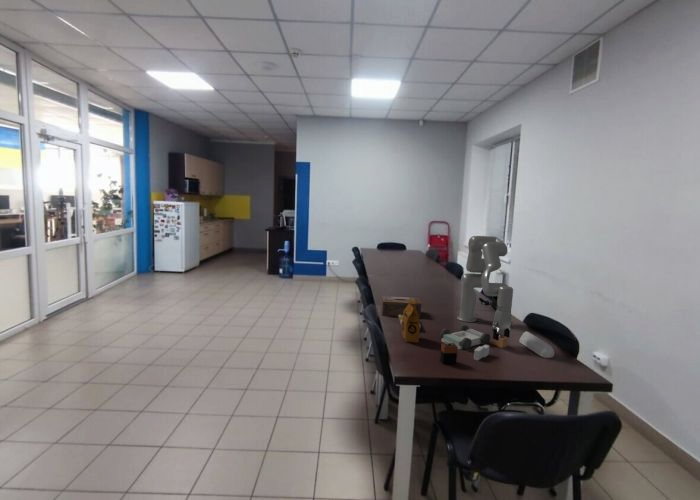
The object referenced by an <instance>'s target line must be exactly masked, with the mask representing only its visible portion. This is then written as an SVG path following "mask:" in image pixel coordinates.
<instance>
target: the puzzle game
mask: <svg viewBox="0 0 700 500" xmlns="http://www.w3.org/2000/svg"><path fill="white" fill-rule="evenodd" d="M397 317H398V319H399V324H400V327H401V328H402V320H403V315H398V316H397ZM421 328H422V325H421V324H420V330H421Z"/></svg>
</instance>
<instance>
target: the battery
mask: <svg viewBox="0 0 700 500" xmlns="http://www.w3.org/2000/svg"><path fill="white" fill-rule="evenodd" d="M440 348H441V349H440V357H439V358H440V359H439V361H440V362H441V363H442V365H456V364H457V359H458V350H459V349H458V347H457V345H455V343H448V342H445V343H444V342H442V343H441V347H440Z"/></svg>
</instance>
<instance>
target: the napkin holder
mask: <svg viewBox="0 0 700 500" xmlns="http://www.w3.org/2000/svg"><path fill="white" fill-rule="evenodd" d="M489 354H490V345H489V344H483V345H482V346H480V345H479V346H478V347H476V348H475V349H474V351H473V360H474V361H475V360H476V361H479V360H481V359H482V358H487V357H488V356H489Z"/></svg>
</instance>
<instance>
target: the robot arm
mask: <svg viewBox="0 0 700 500" xmlns="http://www.w3.org/2000/svg"><path fill="white" fill-rule="evenodd" d="M467 243H468V244H467V245H468V255H467V259H466V264H465V267H466V271H467V272H468V273H467V272H466V273H464V274H462V275H461V279H460V283H461V294H460V306H459V315H457V316H456V319H457V320H459V321H461V322H467V323H474V322H475V323H476V321H477V316H479V312H475V311H476V302H477V301H476V300H477V294H476V291H475V289H476V288H477V289H478V288H479V289H482V291H483V294H484V295H485V296H487V297H493V296H498V299H497V310H495V313H494V316H493V322H492V325H491V329H492V330H491V331H492V334H493V335H492V340H493V339H494V340H497V341H498V340H499V334H500V333H499V332H501V330H503V336H504V337H507V338H508V339H509V338H510V334H511V333H510V332H511V328H512V326H513V324H514V323H513V321H512V306H513V298H514V297H513V296H514V288H513V287H511V286H510V285H508V284H507V283H504V282H503V283H501V282H490V277H491V273H492V272H495V271H498V270H499V269H501V267H502V263H501V258H500V257H505V256H507V254H508V250H509V249H508V246H507V244H506V243H505V242H504V241H503V240H501V239H500V238H499V237H497V236H489V235H473V236H470V237H469V240H468V242H467ZM482 256H483V258H482Z"/></svg>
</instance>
